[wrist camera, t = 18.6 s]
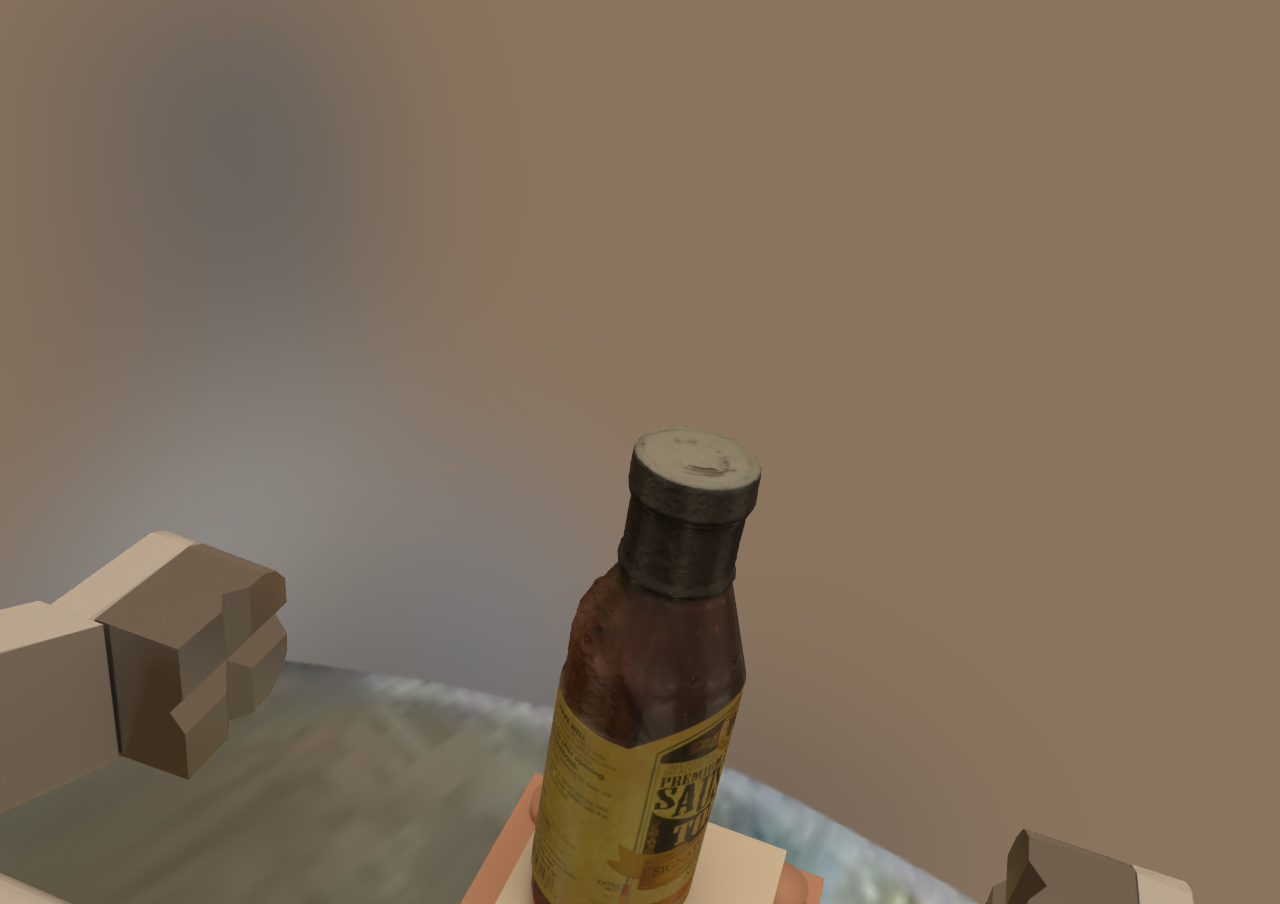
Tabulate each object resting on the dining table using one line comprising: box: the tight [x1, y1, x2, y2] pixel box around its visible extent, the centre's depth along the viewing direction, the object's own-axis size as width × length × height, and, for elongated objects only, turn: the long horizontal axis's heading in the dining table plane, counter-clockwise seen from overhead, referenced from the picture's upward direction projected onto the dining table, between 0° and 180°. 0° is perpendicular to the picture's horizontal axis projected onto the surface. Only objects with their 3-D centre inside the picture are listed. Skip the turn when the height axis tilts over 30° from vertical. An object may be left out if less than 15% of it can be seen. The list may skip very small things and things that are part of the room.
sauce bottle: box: [531, 426, 761, 904], centre depth 38 cm, size 6×6×20 cm
